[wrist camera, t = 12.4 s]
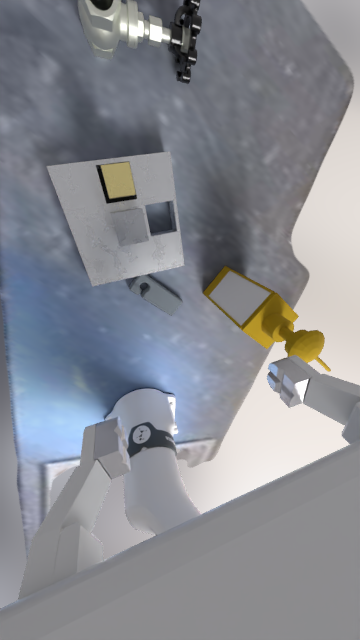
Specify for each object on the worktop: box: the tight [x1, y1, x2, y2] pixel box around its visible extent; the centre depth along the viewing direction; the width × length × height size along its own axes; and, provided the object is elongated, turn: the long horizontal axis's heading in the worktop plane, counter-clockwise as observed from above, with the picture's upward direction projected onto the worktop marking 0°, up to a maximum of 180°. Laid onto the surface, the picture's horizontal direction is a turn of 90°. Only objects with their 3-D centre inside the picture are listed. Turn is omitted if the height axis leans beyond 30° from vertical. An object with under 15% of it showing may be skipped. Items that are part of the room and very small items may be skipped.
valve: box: [78, 0, 202, 84], centre depth 22 cm, size 7×7×12 cm
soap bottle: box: [203, 266, 331, 371], centre depth 36 cm, size 7×13×24 cm, turn 49°
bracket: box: [129, 274, 183, 316], centre depth 40 cm, size 4×10×2 cm, turn 49°
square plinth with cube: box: [46, 152, 184, 286], centre depth 30 cm, size 16×16×8 cm
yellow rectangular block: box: [101, 162, 136, 200], centre depth 27 cm, size 3×3×8 cm
